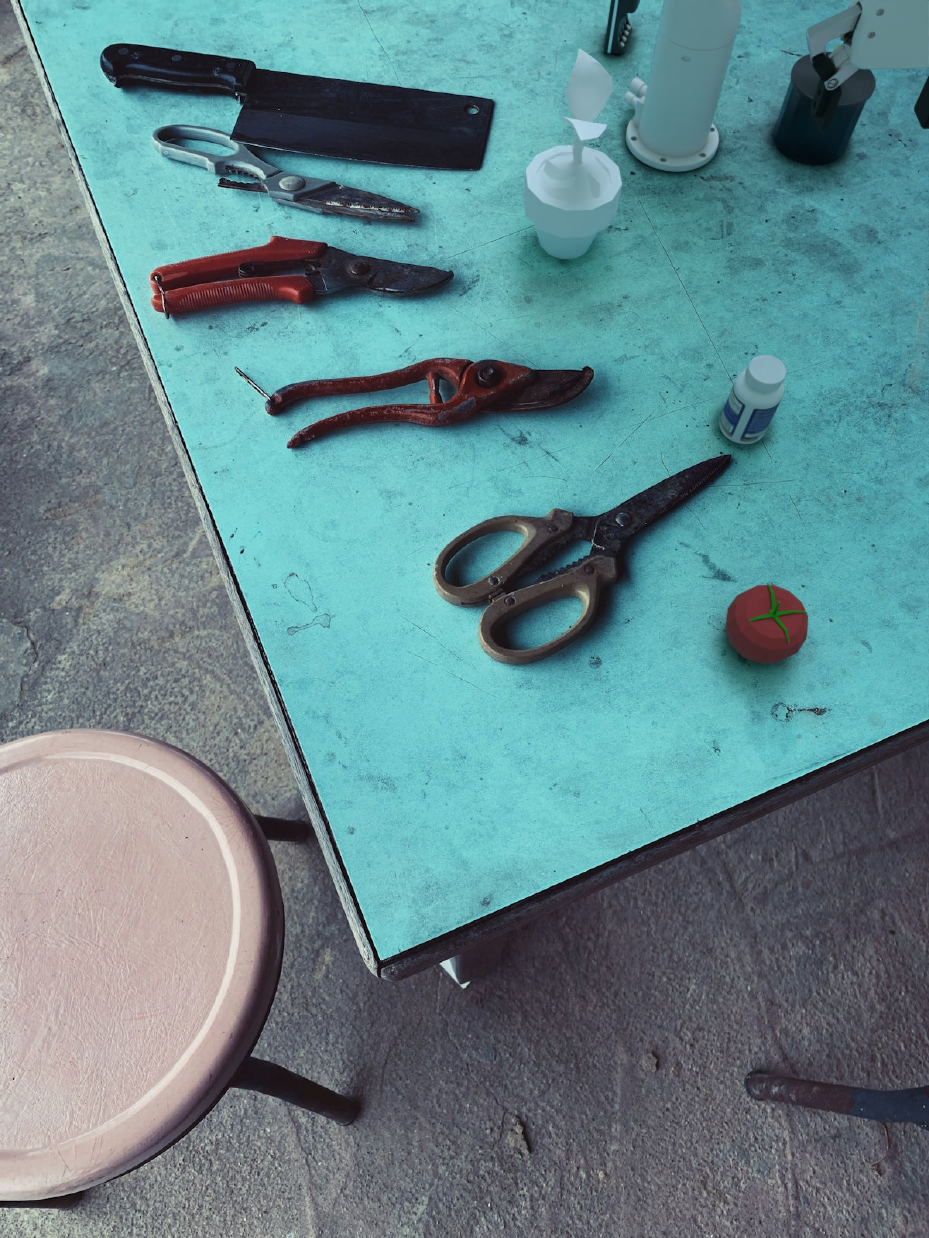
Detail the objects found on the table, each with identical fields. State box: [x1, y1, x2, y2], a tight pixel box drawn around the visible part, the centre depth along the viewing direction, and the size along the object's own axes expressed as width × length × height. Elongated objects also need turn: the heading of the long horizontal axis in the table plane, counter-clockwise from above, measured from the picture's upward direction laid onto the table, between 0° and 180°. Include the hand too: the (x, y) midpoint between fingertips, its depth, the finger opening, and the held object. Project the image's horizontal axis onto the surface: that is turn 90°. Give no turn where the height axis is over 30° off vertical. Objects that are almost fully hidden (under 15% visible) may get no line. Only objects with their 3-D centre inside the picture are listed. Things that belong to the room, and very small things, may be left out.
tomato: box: [724, 582, 809, 665], centre depth 91 cm, size 8×8×8 cm
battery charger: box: [603, 0, 641, 55], centre depth 131 cm, size 7×4×11 cm, turn 163°
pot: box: [772, 80, 867, 166], centre depth 124 cm, size 10×10×8 cm
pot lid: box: [789, 44, 877, 108], centre depth 118 cm, size 11×11×5 cm
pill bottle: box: [718, 354, 787, 445], centre depth 102 cm, size 5×5×10 cm
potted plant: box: [523, 43, 623, 260], centre depth 107 cm, size 13×12×25 cm
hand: (870, 121), depth 86 cm, fingers open, 9 cm apart
